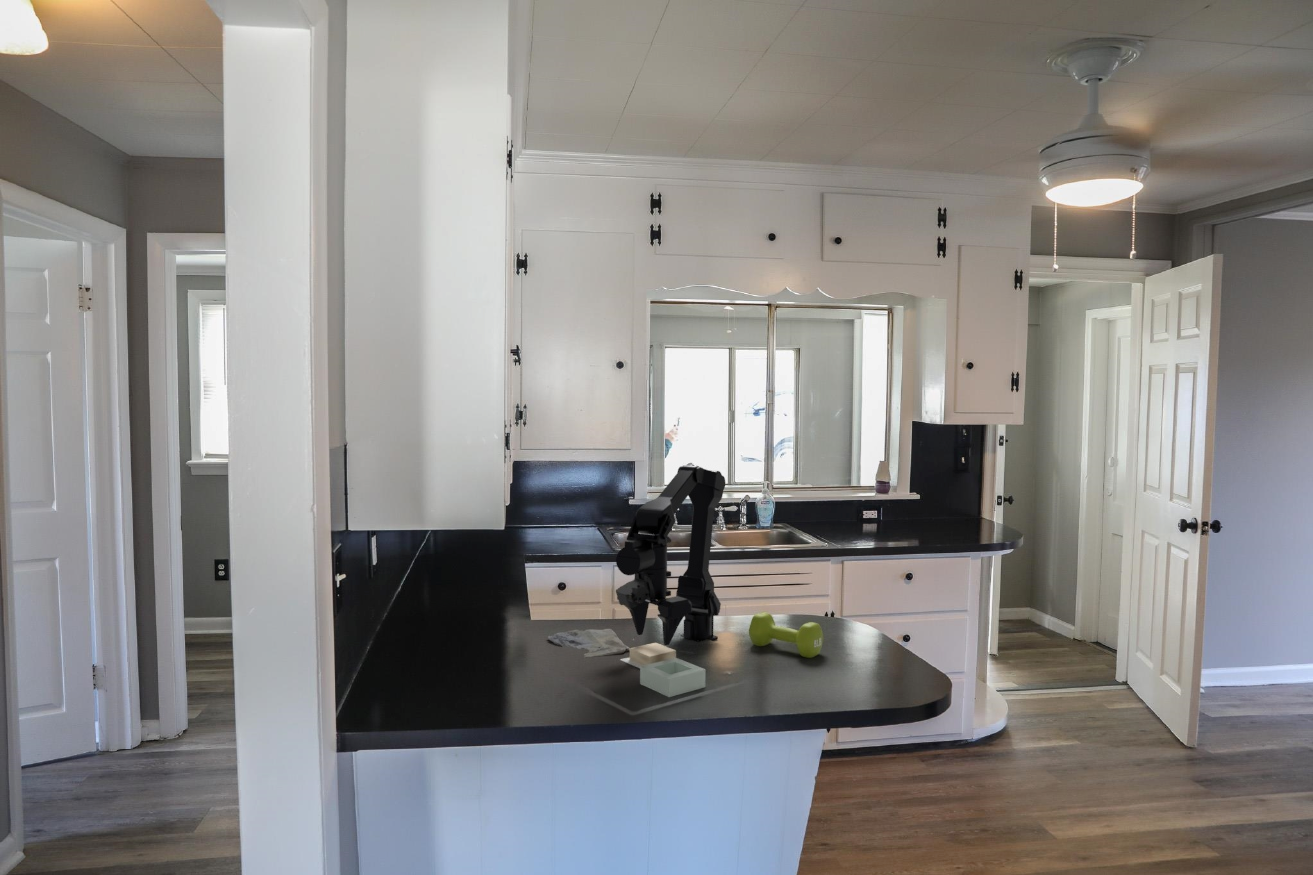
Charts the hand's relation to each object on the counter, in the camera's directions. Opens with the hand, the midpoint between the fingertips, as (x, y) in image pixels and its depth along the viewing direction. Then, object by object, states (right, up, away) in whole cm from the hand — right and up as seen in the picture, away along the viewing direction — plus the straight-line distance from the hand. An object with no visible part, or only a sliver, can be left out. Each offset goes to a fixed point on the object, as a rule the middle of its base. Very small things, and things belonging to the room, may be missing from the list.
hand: (653, 639), depth 176 cm
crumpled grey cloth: (-14, -5, +12) cm, 19 cm away
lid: (0, -5, 0) cm, 5 cm away
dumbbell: (+30, -5, +11) cm, 32 cm away
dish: (+4, -6, -15) cm, 16 cm away
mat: (0, -5, 0) cm, 5 cm away
